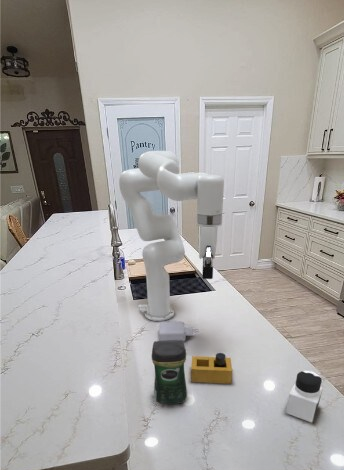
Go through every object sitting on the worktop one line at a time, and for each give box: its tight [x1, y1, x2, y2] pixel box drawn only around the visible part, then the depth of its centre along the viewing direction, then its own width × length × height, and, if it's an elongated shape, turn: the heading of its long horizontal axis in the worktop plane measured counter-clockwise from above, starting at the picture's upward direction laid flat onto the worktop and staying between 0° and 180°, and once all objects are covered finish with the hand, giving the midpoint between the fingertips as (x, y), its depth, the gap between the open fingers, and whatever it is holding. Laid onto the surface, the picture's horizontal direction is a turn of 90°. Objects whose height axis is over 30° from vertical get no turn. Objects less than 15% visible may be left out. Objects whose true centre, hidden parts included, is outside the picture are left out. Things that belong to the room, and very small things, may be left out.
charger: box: [158, 320, 200, 342], centre depth 126 cm, size 5×9×15 cm
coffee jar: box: [151, 340, 188, 405], centre depth 93 cm, size 10×8×19 cm
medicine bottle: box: [285, 370, 324, 423], centre depth 88 cm, size 7×7×12 cm
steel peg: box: [215, 352, 227, 368], centre depth 103 cm, size 3×3×8 cm
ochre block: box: [190, 355, 233, 385], centre depth 104 cm, size 12×7×5 cm, turn 85°
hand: (207, 273), depth 107 cm, fingers open, 9 cm apart
